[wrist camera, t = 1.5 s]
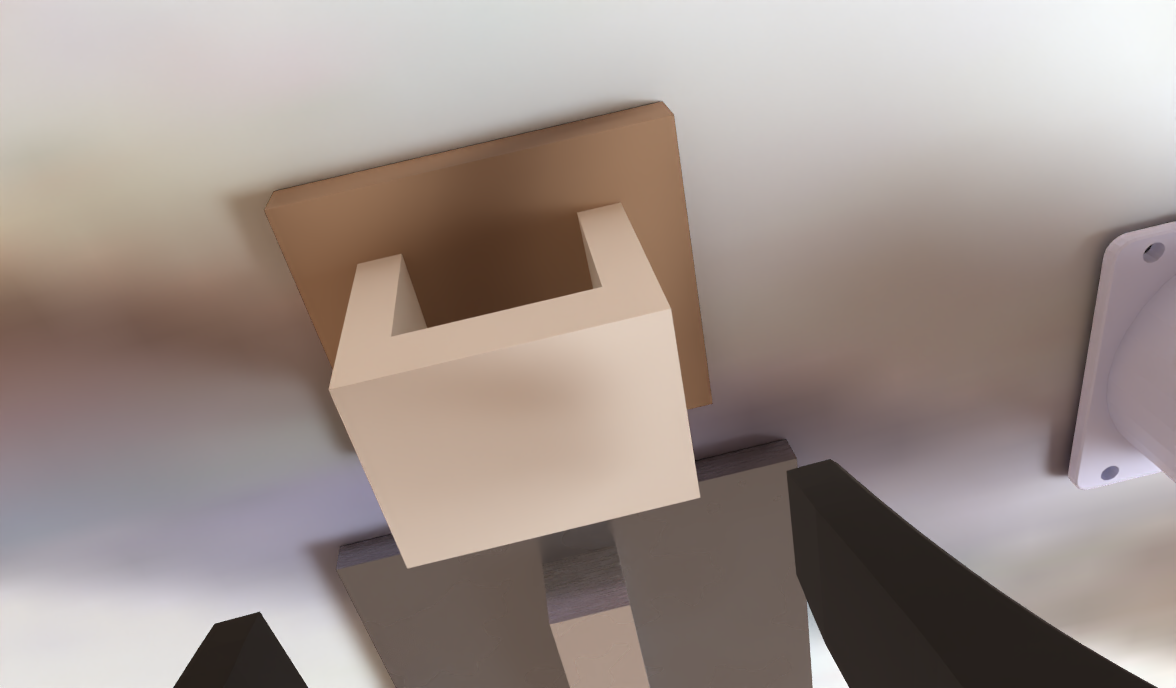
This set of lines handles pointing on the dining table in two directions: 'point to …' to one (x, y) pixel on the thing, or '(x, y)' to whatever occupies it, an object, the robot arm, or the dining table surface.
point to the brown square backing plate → (500, 225)
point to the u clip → (516, 404)
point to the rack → (606, 597)
